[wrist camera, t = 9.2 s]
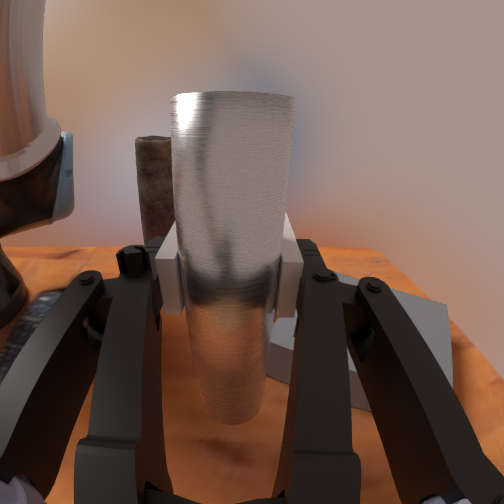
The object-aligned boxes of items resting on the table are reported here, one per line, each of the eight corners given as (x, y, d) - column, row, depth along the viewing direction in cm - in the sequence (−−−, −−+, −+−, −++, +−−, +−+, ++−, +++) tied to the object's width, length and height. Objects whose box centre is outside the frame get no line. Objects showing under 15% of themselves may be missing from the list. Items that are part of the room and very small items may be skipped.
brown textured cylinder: (160, 258, 44) (149, 134, 34) (203, 262, 43) (199, 131, 33) (142, 285, 37) (122, 141, 27) (190, 291, 36) (180, 136, 27)
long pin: (189, 405, 16) (145, 98, 7) (222, 367, 19) (218, 98, 10) (242, 434, 14) (259, 90, 6) (272, 390, 17) (310, 101, 9)
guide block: (259, 372, 25) (262, 338, 23) (307, 297, 36) (313, 265, 34) (425, 425, 18) (452, 397, 16) (431, 334, 29) (446, 304, 26)
